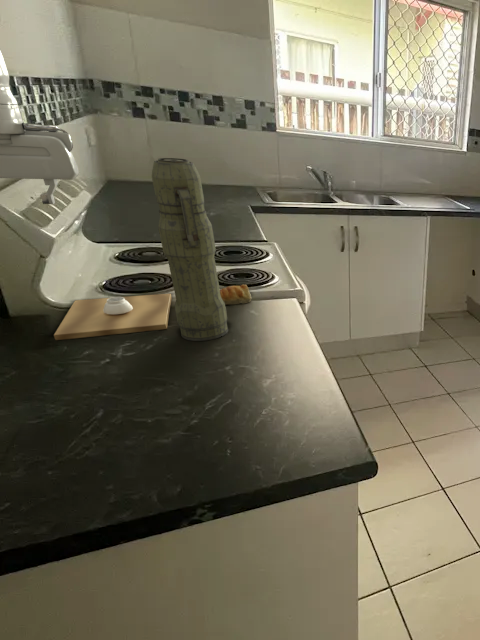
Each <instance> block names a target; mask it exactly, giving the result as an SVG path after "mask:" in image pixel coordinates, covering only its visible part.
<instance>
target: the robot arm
mask: <svg viewBox="0 0 480 640" xmlns="http://www.w3.org/2000/svg"><path fill="white" fill-rule="evenodd" d="M73 149H74V144H73V141H72V137H71V135H70V134H69V133H68V132H67V130H65V129H62V128H60V127H58V126H57V125H54V124H37V123H25V122H24V120H23V117H22V113H21V110H20V107H19V104H18V101H17V99H16V97H15V96H14V95H13V93H12V90H11V87H10V74H9V71H8V67H7V64H6V61H5V58H4V55H3V52H2V50H1V49H0V179H20V180H21V179H22V180H43V183H44V186H48V187H47V191H46V193H45V192H44V193H43V192H42V193H41V194H39V196H40V199H41V200H42V201H41V203H42V204H43V205H55V204H56V200H55V197H54V193H55V192H56V189H57V187H58V185H59V183H58V180H61V181H63V180H65V181H66V180H67V181H69V180H70V181H72V180H75V179H77V177H78V176H79V175H80V169H79V166H78V163H77V161H76V159H75V156H74V154H73V152H72V151H73Z"/></svg>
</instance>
